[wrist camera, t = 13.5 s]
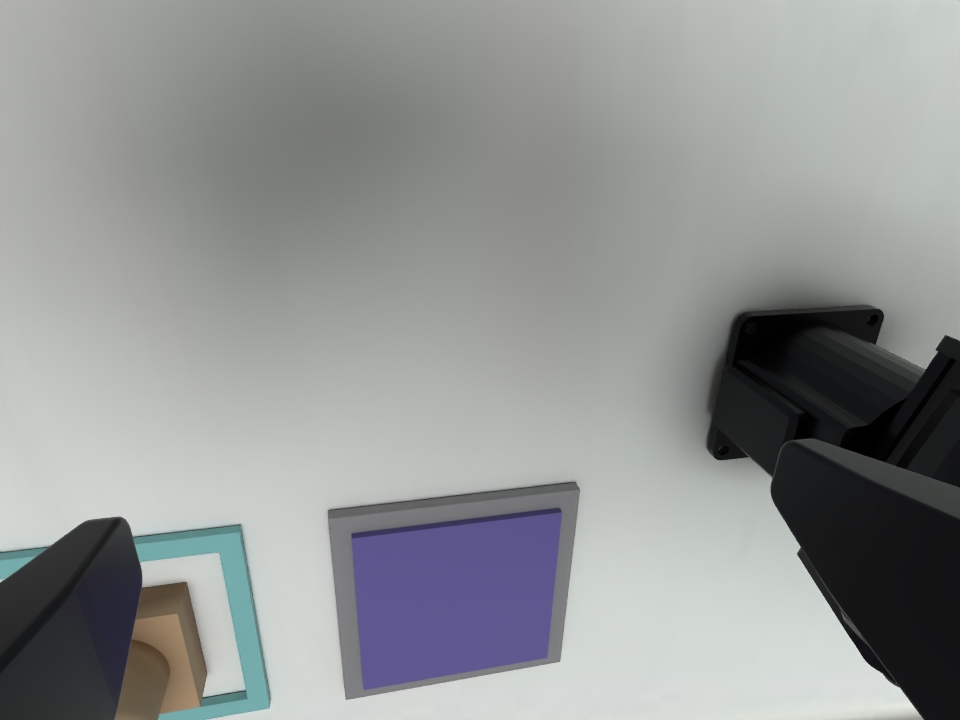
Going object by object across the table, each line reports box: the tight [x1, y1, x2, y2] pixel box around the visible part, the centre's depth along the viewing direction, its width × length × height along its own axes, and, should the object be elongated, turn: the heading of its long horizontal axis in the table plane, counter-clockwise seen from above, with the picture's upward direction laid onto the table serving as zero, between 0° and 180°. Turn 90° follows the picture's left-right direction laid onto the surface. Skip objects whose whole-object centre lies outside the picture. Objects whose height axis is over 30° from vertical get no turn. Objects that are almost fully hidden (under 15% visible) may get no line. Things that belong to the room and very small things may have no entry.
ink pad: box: [328, 482, 580, 700], centre depth 26 cm, size 10×10×1 cm
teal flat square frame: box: [0, 525, 270, 720], centre depth 24 cm, size 10×10×1 cm
